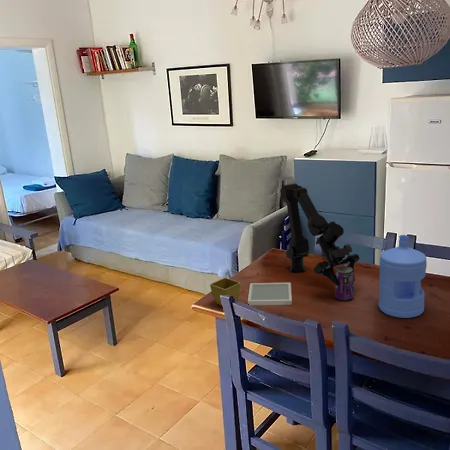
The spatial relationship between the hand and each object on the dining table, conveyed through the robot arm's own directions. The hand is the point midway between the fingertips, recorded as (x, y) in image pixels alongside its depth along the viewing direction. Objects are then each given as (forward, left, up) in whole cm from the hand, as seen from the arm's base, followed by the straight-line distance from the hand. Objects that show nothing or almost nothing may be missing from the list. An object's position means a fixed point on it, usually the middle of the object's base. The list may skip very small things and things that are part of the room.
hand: (346, 283), depth 180 cm
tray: (-4, -30, -7) cm, 31 cm away
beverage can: (-1, -1, -7) cm, 7 cm away
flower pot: (+3, -47, -7) cm, 47 cm away
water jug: (+9, +18, -7) cm, 21 cm away
